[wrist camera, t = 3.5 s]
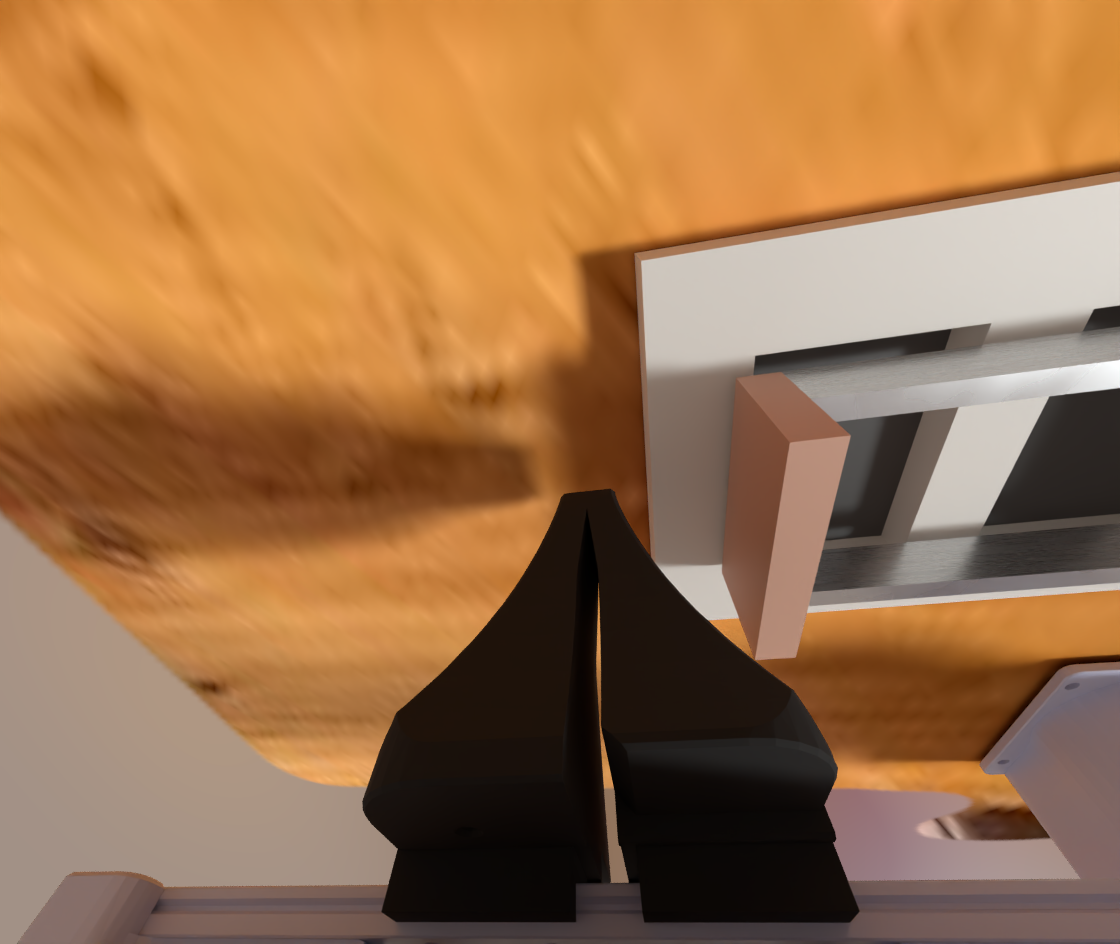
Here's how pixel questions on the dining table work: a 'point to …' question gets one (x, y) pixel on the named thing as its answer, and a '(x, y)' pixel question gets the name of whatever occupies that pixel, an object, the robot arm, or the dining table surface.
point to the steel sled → (816, 465)
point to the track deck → (880, 332)
